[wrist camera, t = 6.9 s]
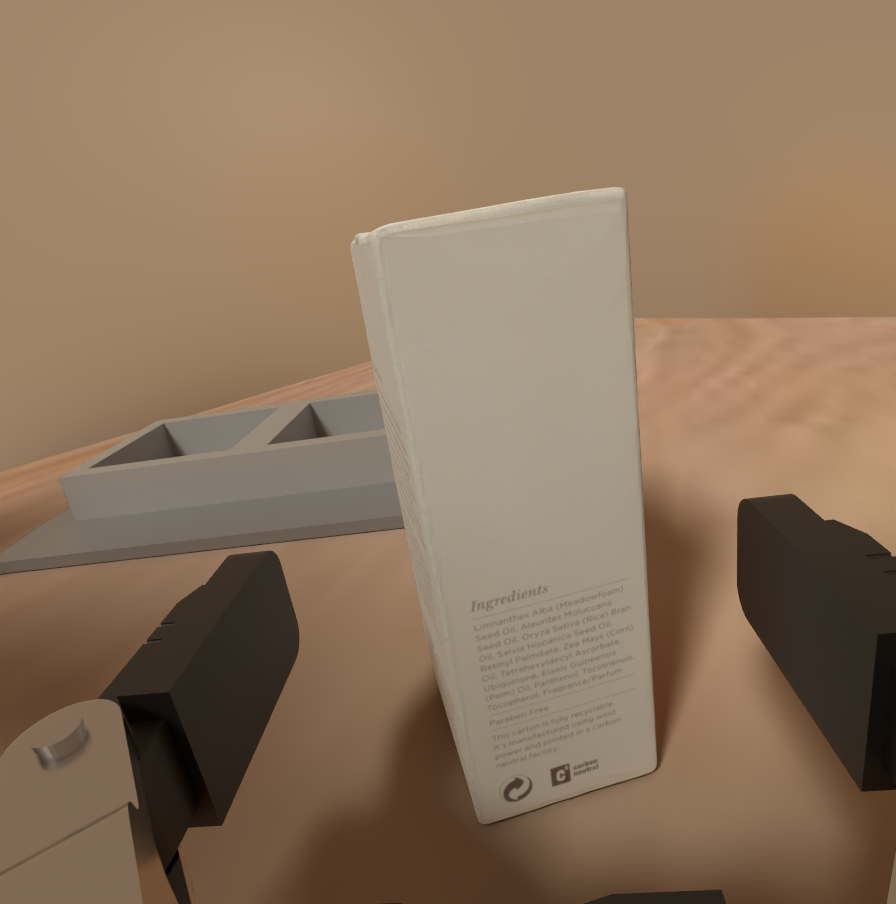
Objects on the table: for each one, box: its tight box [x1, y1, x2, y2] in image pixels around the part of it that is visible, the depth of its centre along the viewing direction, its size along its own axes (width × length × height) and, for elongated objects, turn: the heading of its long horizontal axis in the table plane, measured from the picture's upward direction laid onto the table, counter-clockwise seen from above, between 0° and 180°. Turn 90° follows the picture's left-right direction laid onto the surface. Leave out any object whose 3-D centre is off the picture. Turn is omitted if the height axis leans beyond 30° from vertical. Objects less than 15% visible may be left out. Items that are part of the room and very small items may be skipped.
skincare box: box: [350, 187, 657, 824], centre depth 14 cm, size 6×4×12 cm
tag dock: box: [0, 390, 405, 574], centre depth 35 cm, size 24×18×3 cm
